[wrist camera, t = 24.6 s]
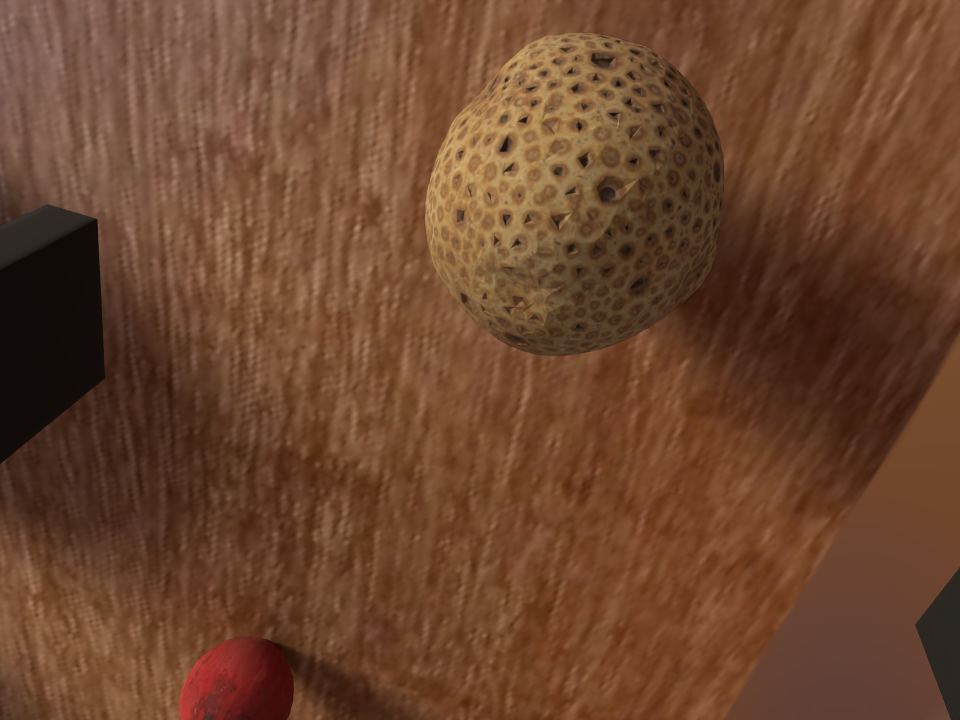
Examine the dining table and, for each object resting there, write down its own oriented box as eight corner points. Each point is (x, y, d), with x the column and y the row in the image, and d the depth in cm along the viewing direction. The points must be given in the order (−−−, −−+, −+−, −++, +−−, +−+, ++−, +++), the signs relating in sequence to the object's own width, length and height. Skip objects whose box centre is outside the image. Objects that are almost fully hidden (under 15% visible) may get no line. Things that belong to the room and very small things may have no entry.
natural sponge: (470, 11, 26) (381, 47, 18) (739, 26, 25) (786, 73, 16) (464, 260, 31) (391, 386, 22) (692, 284, 29) (709, 429, 21)
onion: (219, 594, 43) (137, 718, 36) (316, 620, 43) (251, 751, 36) (223, 662, 46) (148, 788, 39) (313, 686, 46) (253, 819, 39)
